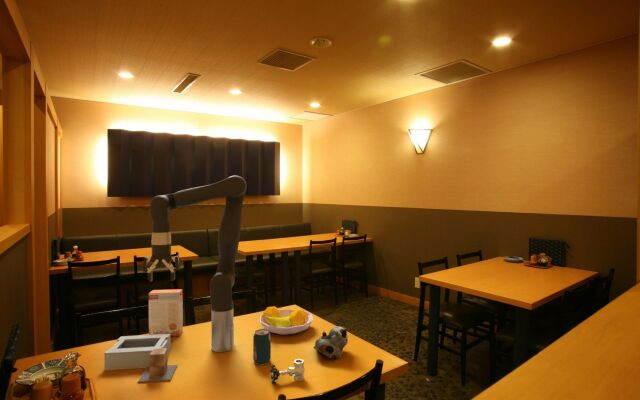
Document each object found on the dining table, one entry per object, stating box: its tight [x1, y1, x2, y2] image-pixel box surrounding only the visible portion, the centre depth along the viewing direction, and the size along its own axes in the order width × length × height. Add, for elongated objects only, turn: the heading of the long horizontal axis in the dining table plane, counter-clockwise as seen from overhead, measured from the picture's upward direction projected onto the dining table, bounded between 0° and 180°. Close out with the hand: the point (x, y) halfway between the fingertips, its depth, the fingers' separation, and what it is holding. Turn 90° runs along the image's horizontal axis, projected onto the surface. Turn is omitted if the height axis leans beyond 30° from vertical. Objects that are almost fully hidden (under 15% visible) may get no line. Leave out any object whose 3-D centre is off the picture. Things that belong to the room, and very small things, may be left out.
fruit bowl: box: [259, 306, 314, 336], centre depth 180 cm, size 28×27×11 cm
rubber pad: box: [137, 364, 178, 384], centre depth 136 cm, size 11×11×1 cm
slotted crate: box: [103, 334, 172, 371], centre depth 148 cm, size 20×16×7 cm
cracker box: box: [148, 288, 184, 337], centre depth 173 cm, size 14×6×21 cm, turn 95°
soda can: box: [252, 328, 272, 366], centre depth 146 cm, size 7×7×12 cm
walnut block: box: [149, 348, 168, 377], centre depth 135 cm, size 5×5×8 cm
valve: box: [269, 358, 306, 385], centre depth 132 cm, size 7×7×12 cm
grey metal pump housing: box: [313, 325, 349, 361], centre depth 154 cm, size 15×12×14 cm
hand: (161, 281), depth 154 cm, fingers open, 8 cm apart
